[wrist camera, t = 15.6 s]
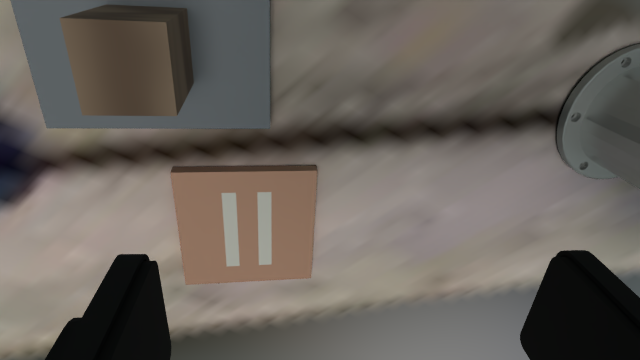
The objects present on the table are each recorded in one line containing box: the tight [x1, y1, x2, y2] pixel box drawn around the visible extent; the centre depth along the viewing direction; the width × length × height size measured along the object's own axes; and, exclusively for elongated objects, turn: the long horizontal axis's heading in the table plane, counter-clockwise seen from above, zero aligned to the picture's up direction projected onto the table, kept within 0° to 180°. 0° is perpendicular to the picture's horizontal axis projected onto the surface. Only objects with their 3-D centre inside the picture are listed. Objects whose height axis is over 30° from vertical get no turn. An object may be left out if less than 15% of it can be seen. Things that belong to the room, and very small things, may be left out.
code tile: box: [171, 165, 317, 285], centre depth 37 cm, size 12×12×1 cm
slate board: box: [11, 0, 270, 129], centre depth 28 cm, size 16×12×2 cm
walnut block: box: [60, 4, 194, 116], centre depth 24 cm, size 5×5×7 cm
